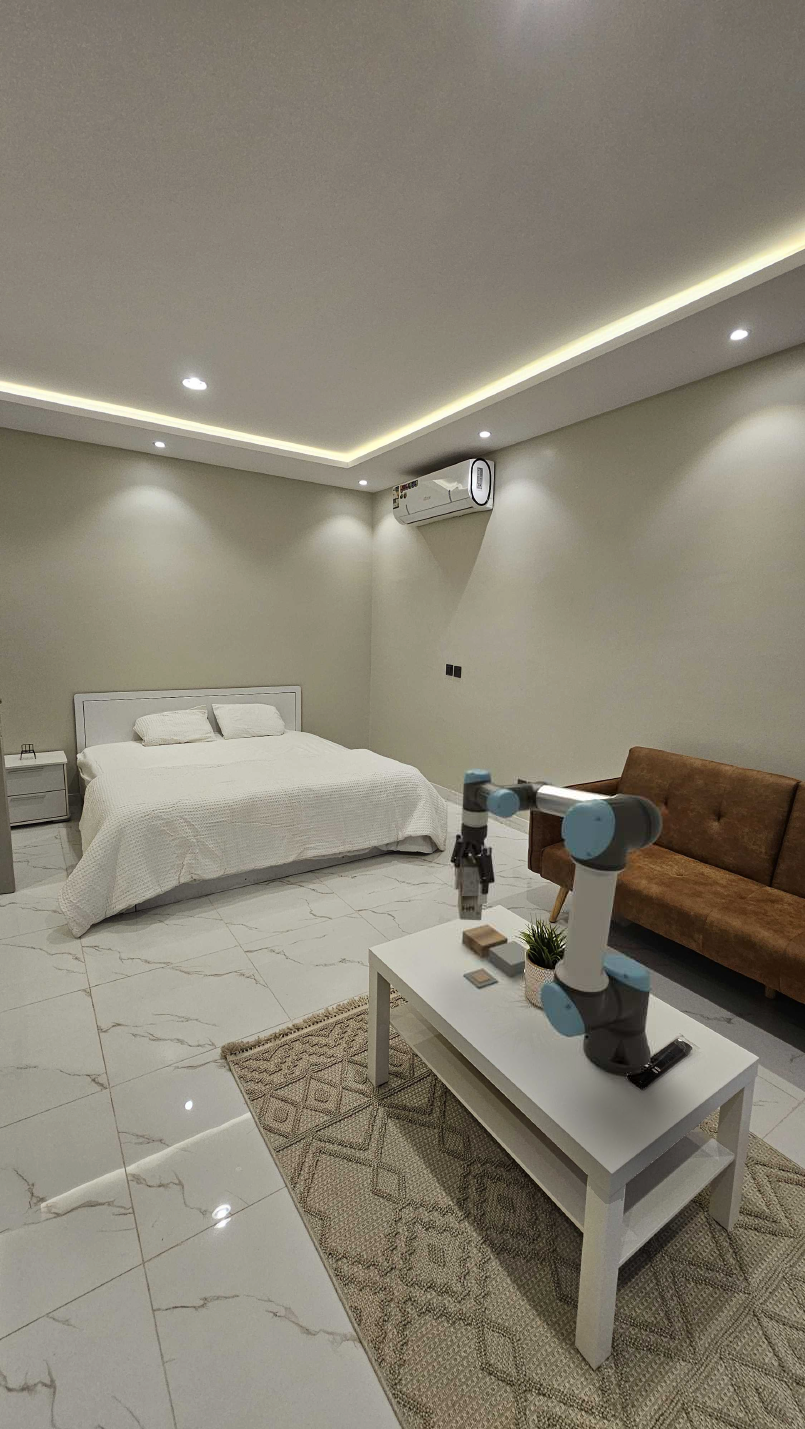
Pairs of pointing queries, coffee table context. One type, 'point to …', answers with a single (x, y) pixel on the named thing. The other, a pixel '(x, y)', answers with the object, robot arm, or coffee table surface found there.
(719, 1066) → the coffee table surface
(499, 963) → the grey square block
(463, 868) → the coffee box
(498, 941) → the walnut block
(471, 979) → the square coaster
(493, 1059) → the coffee table surface
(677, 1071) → the coffee table surface
